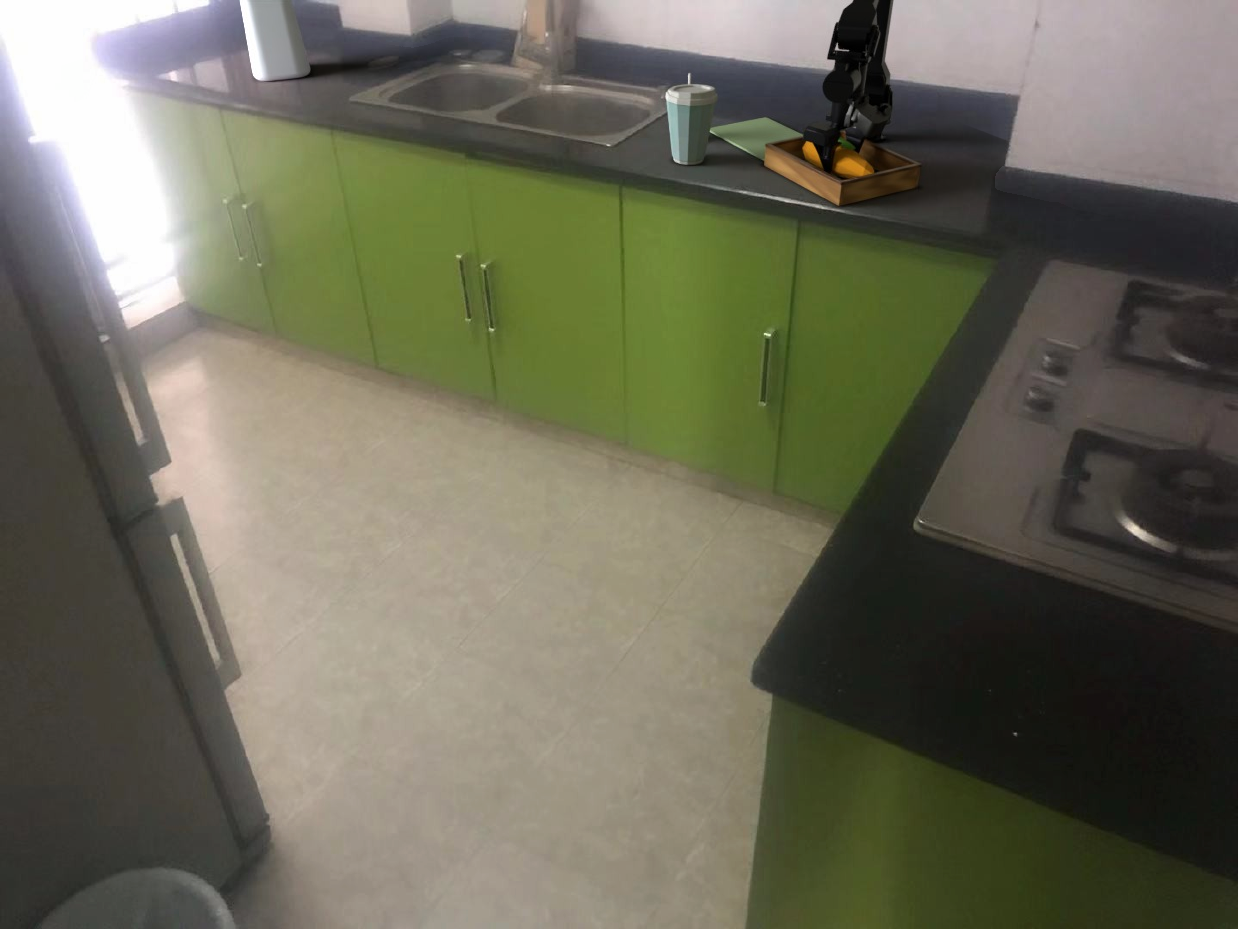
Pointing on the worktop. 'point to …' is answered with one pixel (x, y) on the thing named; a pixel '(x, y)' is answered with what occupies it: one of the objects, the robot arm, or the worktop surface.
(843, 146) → the corn
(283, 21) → the plastic bottle
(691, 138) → the disposable coffee cup
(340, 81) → the worktop surface
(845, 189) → the wooden tray
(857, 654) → the worktop surface
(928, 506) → the worktop surface
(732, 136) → the mat
